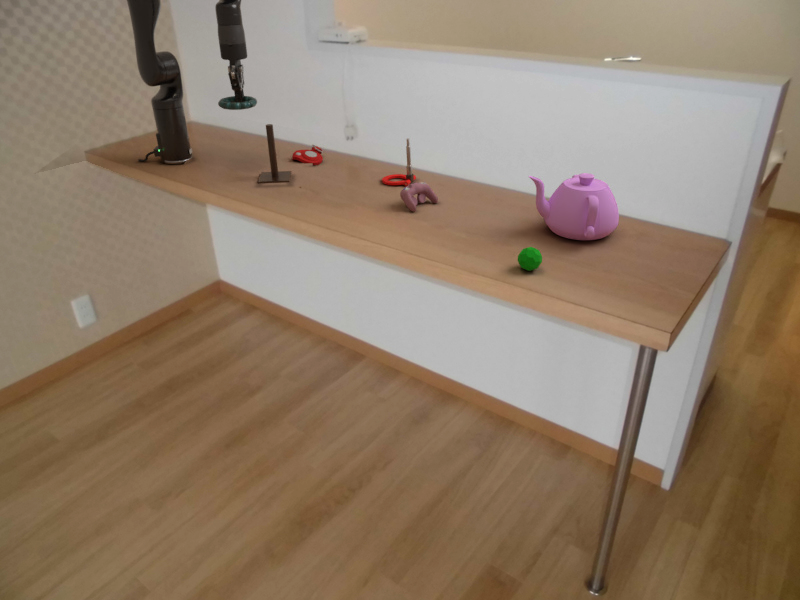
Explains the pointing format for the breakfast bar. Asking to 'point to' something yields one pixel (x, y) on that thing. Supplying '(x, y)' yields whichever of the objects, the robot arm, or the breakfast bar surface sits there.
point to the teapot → (579, 208)
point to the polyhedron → (530, 258)
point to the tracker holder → (309, 155)
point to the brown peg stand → (273, 162)
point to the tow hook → (408, 178)
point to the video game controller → (421, 191)
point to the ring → (232, 105)
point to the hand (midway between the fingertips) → (240, 102)
